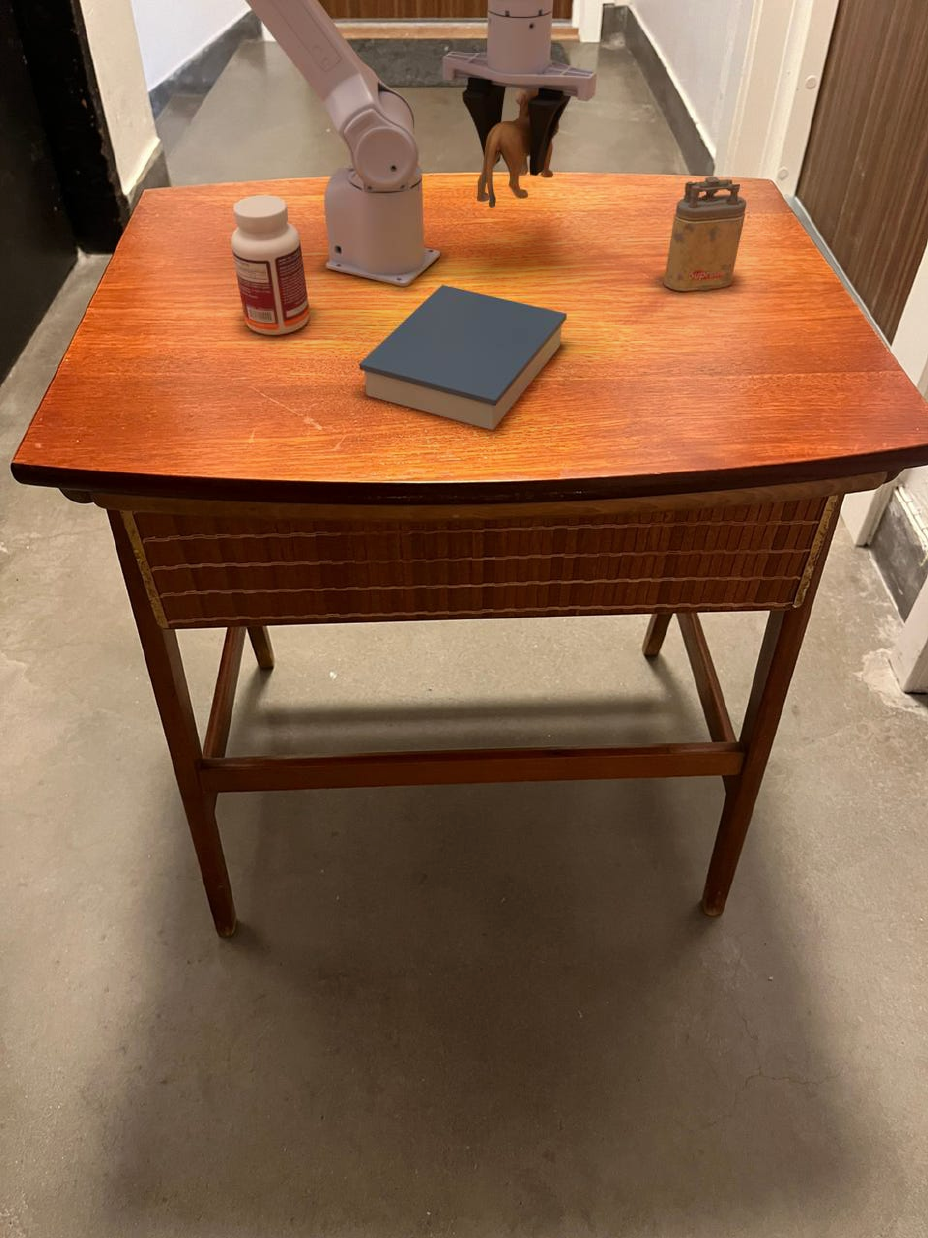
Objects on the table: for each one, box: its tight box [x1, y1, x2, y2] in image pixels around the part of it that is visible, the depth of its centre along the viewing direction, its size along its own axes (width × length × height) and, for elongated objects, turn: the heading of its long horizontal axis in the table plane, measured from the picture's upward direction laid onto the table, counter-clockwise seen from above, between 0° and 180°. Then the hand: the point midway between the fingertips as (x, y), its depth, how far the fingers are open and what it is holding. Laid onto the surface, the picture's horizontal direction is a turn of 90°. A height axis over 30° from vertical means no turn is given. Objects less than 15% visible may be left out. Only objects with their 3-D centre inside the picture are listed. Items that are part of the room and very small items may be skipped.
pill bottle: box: [230, 194, 311, 336], centre depth 90 cm, size 6×6×11 cm
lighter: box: [662, 176, 747, 292], centre depth 96 cm, size 7×4×10 cm, turn 102°
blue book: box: [358, 284, 568, 431], centre depth 86 cm, size 13×16×3 cm
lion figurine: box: [476, 88, 560, 209], centre depth 95 cm, size 15×5×9 cm, turn 158°
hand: (514, 167), depth 96 cm, fingers closed on lion figurine, 4 cm apart
